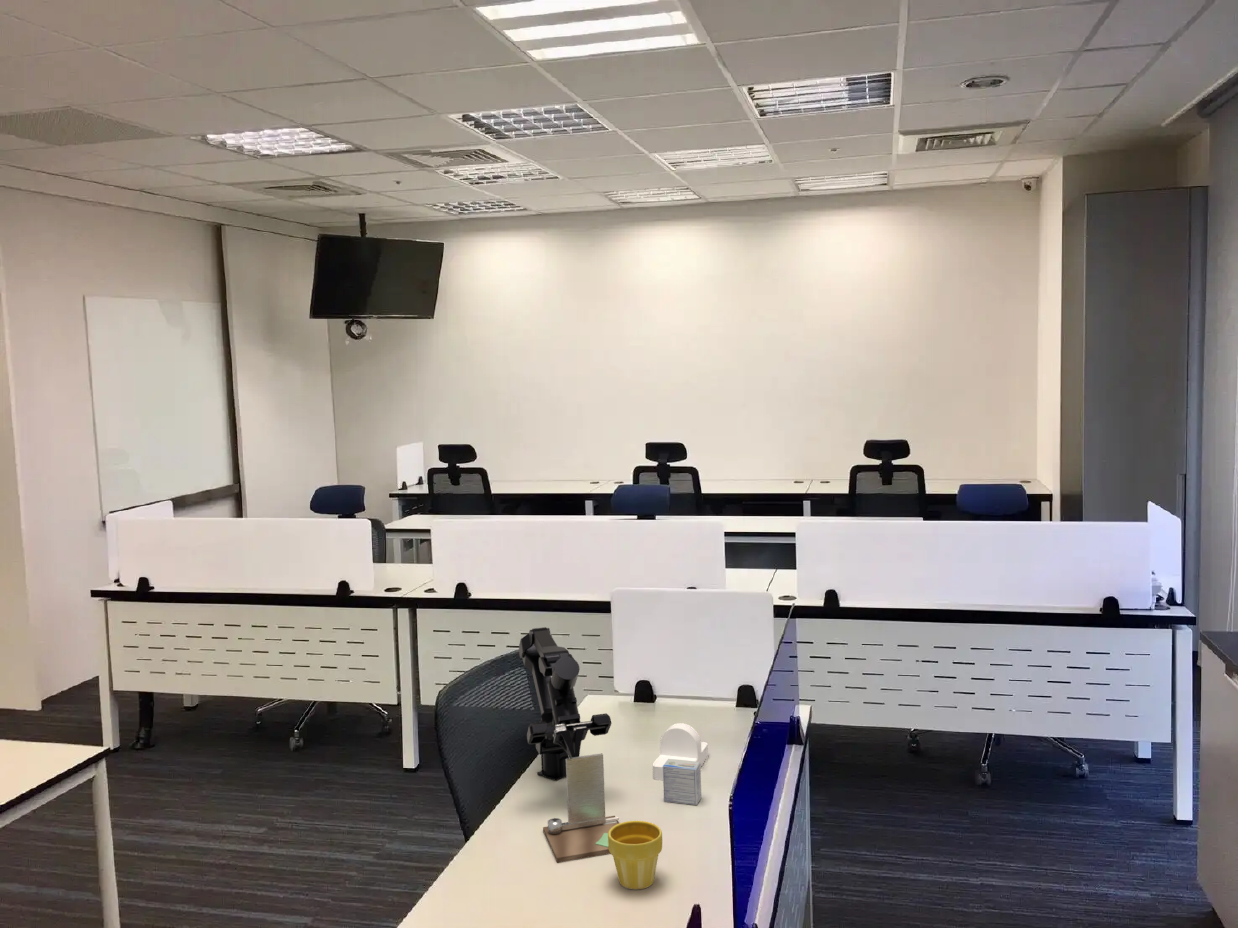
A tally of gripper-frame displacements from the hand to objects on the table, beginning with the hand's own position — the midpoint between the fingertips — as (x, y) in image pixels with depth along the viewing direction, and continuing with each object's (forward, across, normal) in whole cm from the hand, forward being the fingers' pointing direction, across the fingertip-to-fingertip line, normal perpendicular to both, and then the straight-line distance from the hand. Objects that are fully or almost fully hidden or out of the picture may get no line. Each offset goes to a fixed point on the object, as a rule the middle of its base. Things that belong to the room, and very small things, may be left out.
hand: (576, 764), depth 212 cm
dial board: (+17, +1, +1) cm, 17 cm away
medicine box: (+9, -24, -7) cm, 27 cm away
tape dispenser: (-3, -30, -20) cm, 37 cm away
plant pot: (+30, -4, +14) cm, 34 cm away
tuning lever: (+13, +1, -1) cm, 13 cm away
